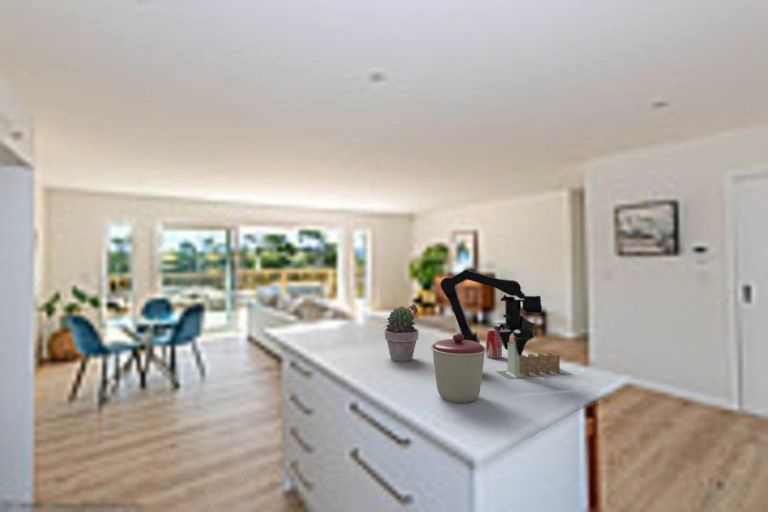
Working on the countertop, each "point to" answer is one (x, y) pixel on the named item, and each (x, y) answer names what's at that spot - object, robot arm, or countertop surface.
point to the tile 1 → (513, 359)
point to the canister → (458, 368)
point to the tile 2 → (524, 365)
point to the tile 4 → (544, 363)
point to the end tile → (554, 362)
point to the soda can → (493, 344)
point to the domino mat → (531, 375)
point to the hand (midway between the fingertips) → (513, 352)
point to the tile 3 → (534, 364)
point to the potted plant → (401, 334)
